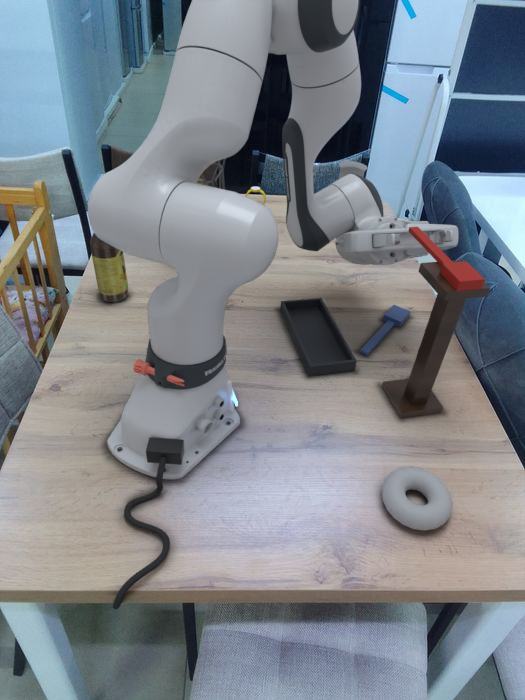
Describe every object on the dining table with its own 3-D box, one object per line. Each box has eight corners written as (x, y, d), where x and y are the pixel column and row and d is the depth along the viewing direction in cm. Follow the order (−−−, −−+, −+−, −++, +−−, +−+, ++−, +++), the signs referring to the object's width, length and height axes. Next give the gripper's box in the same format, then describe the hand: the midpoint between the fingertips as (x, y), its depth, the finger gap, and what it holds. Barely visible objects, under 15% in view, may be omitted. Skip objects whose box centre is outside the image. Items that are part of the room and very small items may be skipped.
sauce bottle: (133, 298, 110) (122, 212, 97) (105, 306, 107) (90, 219, 94) (122, 284, 114) (110, 200, 101) (95, 291, 111) (79, 206, 98)
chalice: (326, 233, 139) (336, 168, 127) (331, 223, 144) (341, 159, 132) (352, 238, 137) (365, 172, 126) (356, 227, 142) (369, 164, 131)
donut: (457, 535, 71) (436, 475, 78) (465, 522, 68) (443, 461, 76) (387, 535, 70) (373, 474, 78) (393, 522, 68) (378, 461, 75)
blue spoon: (392, 310, 112) (393, 304, 111) (408, 317, 110) (410, 311, 109) (354, 350, 100) (355, 344, 99) (372, 358, 99) (373, 352, 98)
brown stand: (381, 386, 93) (417, 263, 76) (420, 381, 95) (464, 259, 78) (400, 418, 87) (443, 292, 70) (441, 412, 89) (493, 287, 72)
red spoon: (481, 289, 72) (485, 279, 71) (456, 291, 71) (460, 281, 70) (423, 230, 85) (425, 221, 84) (401, 231, 84) (403, 222, 83)
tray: (354, 370, 96) (356, 361, 94) (308, 376, 94) (310, 366, 92) (319, 306, 111) (321, 297, 110) (279, 310, 109) (280, 301, 108)
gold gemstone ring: (265, 206, 150) (267, 187, 146) (264, 210, 147) (266, 190, 144) (245, 204, 150) (246, 185, 146) (244, 208, 148) (245, 189, 144)
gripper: (331, 226, 92) (362, 220, 79) (432, 221, 96) (478, 214, 83) (332, 261, 93) (363, 261, 80) (432, 255, 97) (477, 253, 84)
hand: (423, 237), depth 81 cm, fingers open, 8 cm apart
